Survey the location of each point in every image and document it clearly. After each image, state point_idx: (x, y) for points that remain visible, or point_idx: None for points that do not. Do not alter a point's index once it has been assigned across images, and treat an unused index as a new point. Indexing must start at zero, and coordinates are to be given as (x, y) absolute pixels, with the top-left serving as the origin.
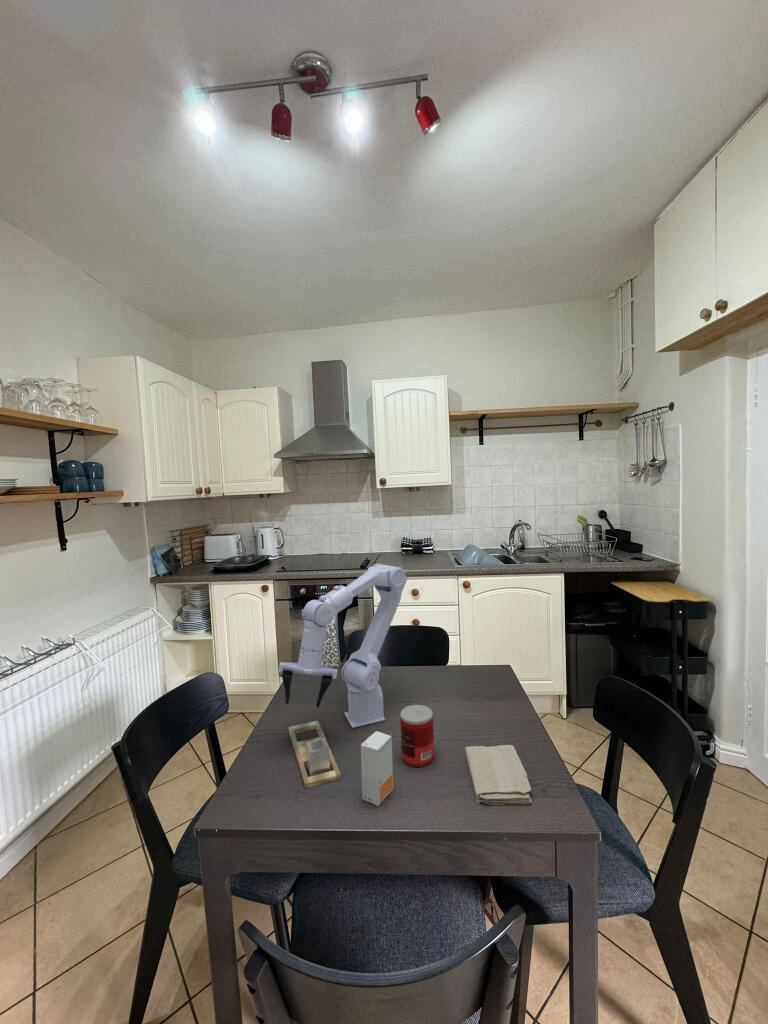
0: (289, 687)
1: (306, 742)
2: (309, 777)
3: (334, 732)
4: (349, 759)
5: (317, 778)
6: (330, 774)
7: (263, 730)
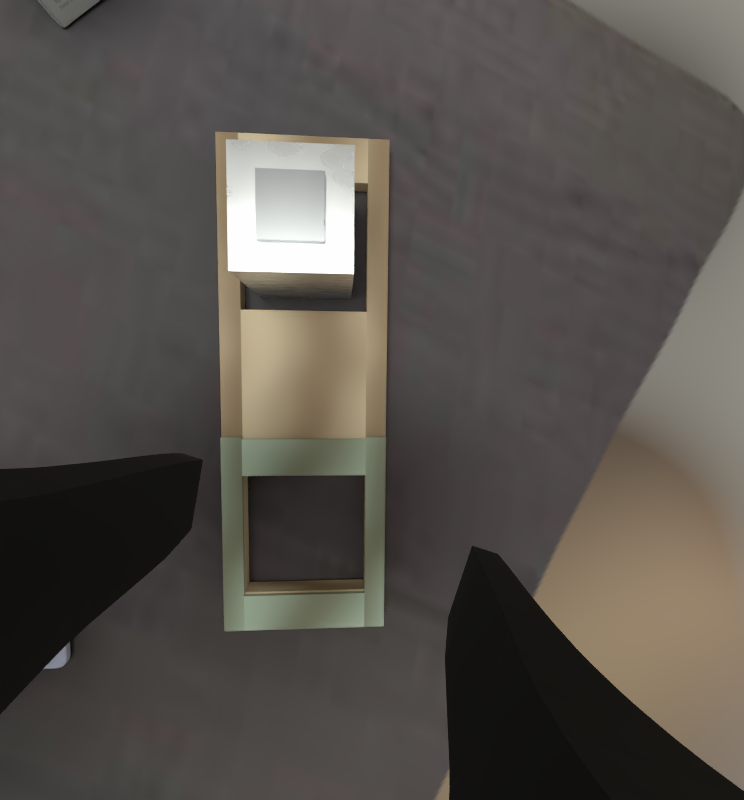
0: (530, 657)
1: (350, 272)
2: (361, 178)
3: None
4: (147, 265)
5: None
6: None
7: None
